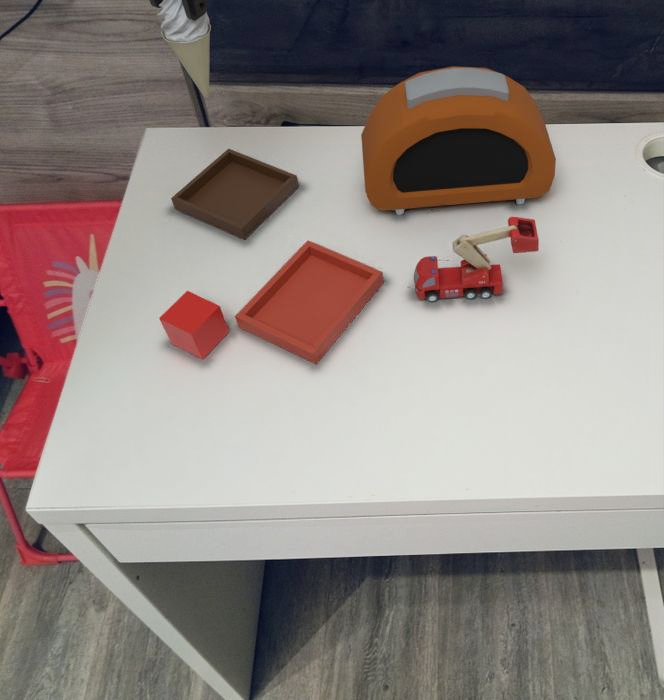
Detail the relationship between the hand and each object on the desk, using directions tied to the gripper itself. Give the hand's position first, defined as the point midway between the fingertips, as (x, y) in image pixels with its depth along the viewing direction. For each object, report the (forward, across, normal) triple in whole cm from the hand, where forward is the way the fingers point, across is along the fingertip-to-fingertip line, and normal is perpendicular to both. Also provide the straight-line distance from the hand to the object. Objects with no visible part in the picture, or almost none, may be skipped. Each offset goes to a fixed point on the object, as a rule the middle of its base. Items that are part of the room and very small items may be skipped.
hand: (179, 9), depth 78 cm
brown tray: (+26, -1, +1) cm, 26 cm away
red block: (+26, +10, -19) cm, 34 cm away
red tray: (+26, +18, -9) cm, 33 cm away
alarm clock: (+26, +23, +16) cm, 38 cm away
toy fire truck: (+26, +33, +2) cm, 42 cm away
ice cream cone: (+10, 0, 0) cm, 10 cm away
